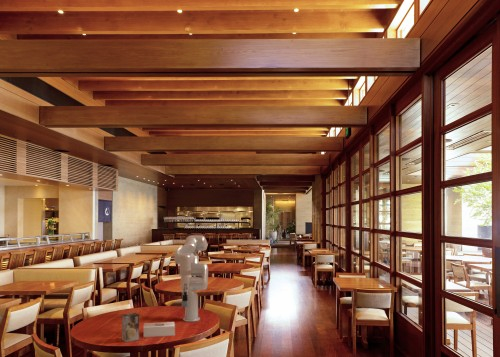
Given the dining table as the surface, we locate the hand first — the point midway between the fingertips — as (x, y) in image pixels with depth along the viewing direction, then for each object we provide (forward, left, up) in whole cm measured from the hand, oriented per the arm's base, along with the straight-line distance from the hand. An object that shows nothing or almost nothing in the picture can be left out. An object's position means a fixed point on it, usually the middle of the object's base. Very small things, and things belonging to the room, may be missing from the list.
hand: (184, 299), depth 323 cm
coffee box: (+13, -35, -21) cm, 43 cm away
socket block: (+2, -17, -21) cm, 27 cm away
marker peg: (0, 0, -4) cm, 4 cm away
